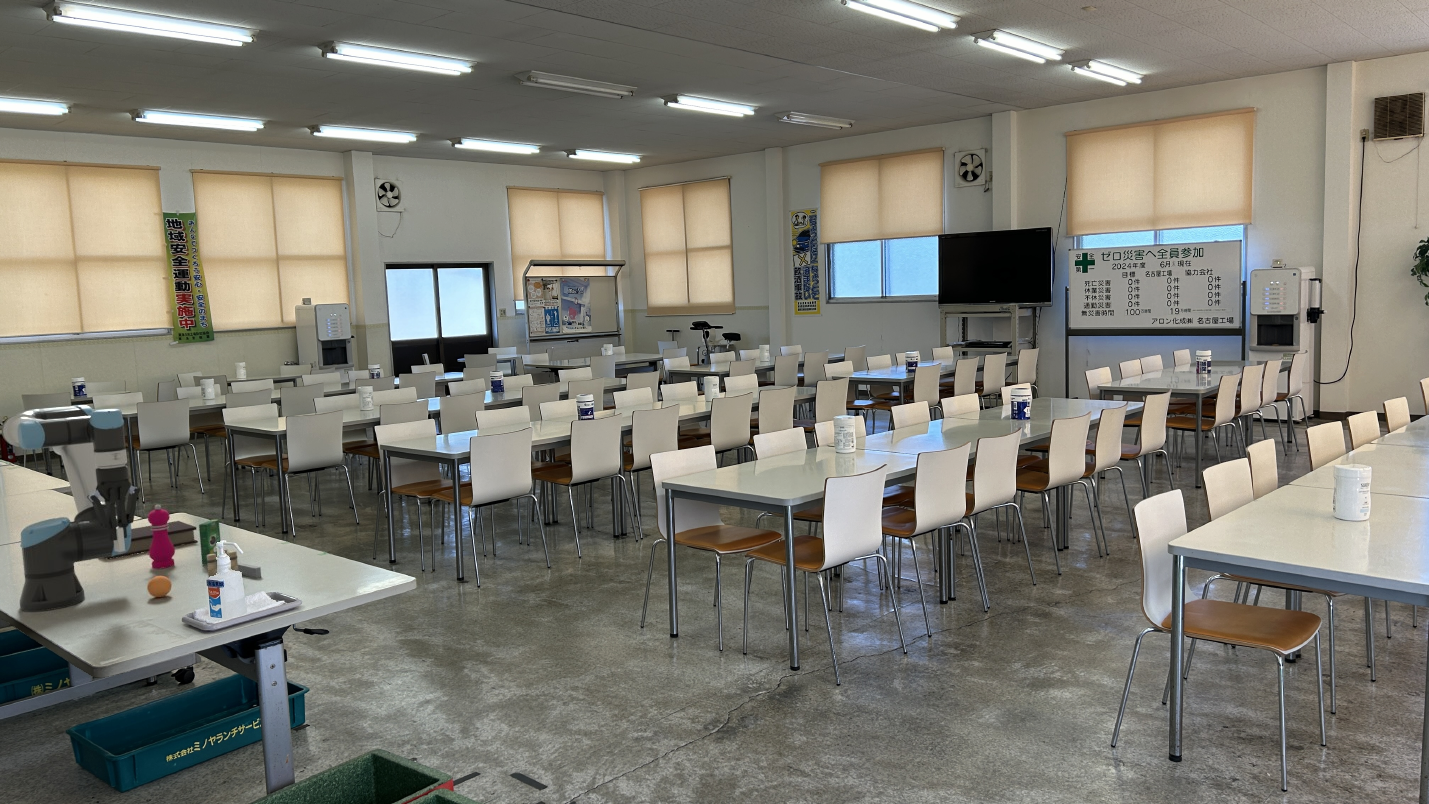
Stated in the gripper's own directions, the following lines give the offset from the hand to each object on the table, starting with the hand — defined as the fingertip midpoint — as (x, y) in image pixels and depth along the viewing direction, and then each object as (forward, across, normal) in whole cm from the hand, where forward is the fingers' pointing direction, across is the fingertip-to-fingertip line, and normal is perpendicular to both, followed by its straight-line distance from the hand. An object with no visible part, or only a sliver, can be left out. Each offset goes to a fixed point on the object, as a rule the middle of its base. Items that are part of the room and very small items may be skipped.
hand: (120, 550), depth 271 cm
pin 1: (+16, +30, +3) cm, 34 cm away
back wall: (+16, +35, 0) cm, 38 cm away
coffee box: (+16, +39, +26) cm, 50 cm away
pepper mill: (+16, +28, +35) cm, 48 cm away
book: (+16, +39, +70) cm, 82 cm away
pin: (+16, +30, -2) cm, 34 cm away
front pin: (+16, +25, 0) cm, 29 cm away
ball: (+13, +10, 0) cm, 16 cm away
